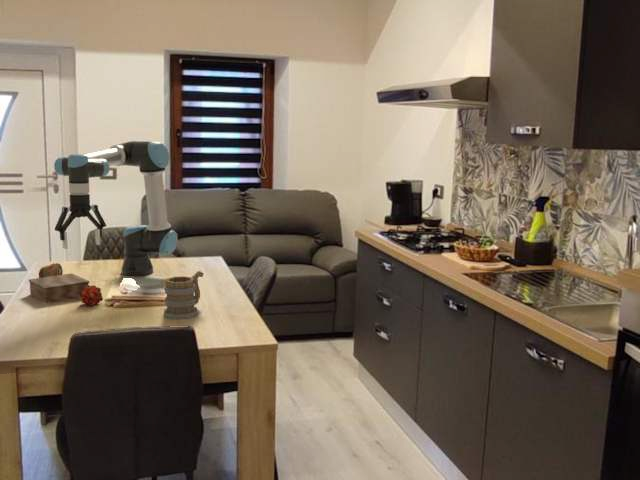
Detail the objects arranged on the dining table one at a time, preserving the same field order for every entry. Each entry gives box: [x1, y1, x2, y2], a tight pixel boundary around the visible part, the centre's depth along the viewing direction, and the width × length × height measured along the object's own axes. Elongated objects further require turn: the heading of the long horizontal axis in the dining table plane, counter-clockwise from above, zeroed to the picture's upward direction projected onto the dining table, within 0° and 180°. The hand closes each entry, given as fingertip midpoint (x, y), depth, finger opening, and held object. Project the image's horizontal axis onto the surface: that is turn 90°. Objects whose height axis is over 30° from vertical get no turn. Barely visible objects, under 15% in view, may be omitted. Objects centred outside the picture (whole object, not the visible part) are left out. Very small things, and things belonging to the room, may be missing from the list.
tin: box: [38, 262, 64, 278], centre depth 299 cm, size 15×3×8 cm, turn 168°
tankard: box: [163, 270, 204, 320], centre depth 255 cm, size 20×13×15 cm, turn 148°
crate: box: [28, 273, 90, 305], centre depth 277 cm, size 19×19×7 cm
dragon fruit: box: [79, 284, 104, 308], centre depth 264 cm, size 8×8×12 cm
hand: (81, 246), depth 262 cm, fingers open, 13 cm apart
